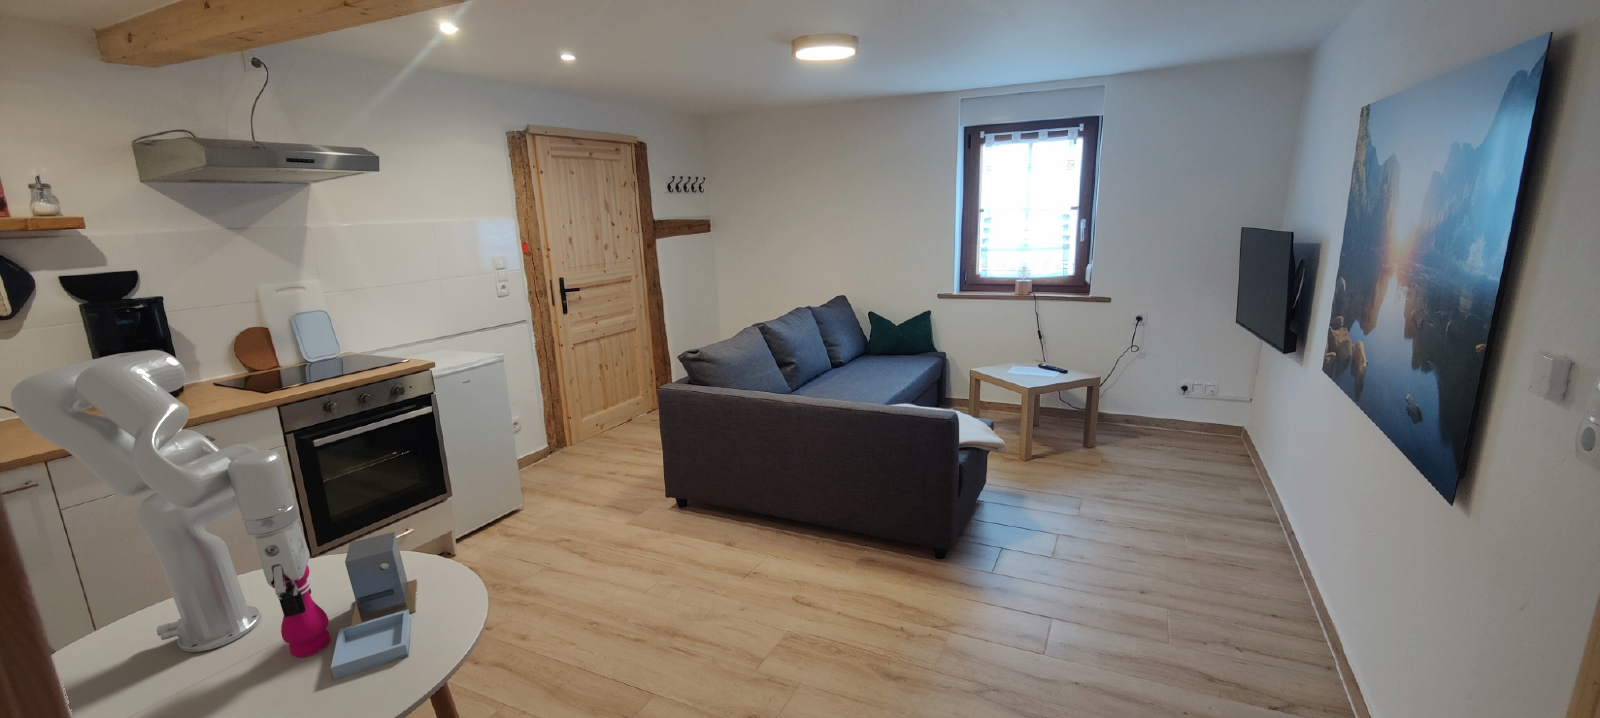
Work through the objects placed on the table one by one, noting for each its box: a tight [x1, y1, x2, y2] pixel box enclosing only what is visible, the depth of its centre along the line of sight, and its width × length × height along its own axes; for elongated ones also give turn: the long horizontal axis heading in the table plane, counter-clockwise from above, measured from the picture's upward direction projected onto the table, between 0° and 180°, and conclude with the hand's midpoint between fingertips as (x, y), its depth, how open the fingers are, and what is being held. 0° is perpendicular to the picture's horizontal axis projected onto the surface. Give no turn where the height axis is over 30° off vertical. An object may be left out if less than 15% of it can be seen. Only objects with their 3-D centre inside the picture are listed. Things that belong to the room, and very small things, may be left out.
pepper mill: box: [272, 564, 332, 658], centre depth 125 cm, size 7×7×20 cm
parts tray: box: [330, 610, 412, 680], centre depth 126 cm, size 12×12×3 cm
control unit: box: [344, 531, 418, 626], centre depth 137 cm, size 11×11×14 cm
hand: (298, 604), depth 125 cm, fingers closed on pepper mill, 5 cm apart
